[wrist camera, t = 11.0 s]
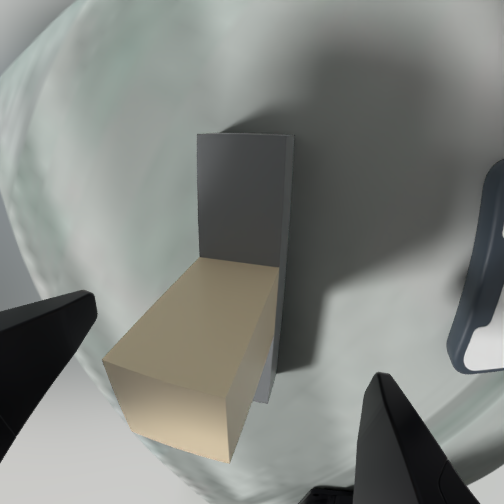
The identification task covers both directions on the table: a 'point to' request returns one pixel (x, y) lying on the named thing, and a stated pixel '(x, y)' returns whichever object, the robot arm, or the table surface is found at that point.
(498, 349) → the smartphone
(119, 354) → the scraper
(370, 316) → the table surface
